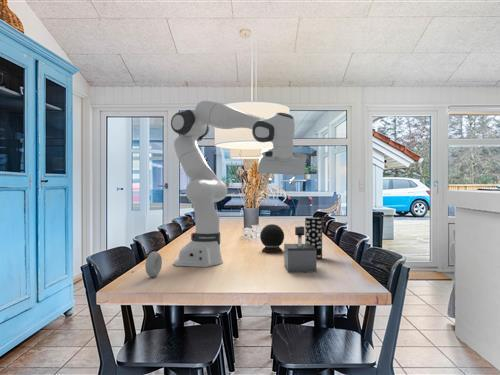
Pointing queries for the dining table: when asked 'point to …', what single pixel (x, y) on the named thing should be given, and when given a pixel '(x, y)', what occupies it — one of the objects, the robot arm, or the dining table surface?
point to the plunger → (299, 234)
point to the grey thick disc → (153, 264)
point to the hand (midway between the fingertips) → (280, 183)
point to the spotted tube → (314, 234)
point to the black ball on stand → (272, 238)
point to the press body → (300, 258)
